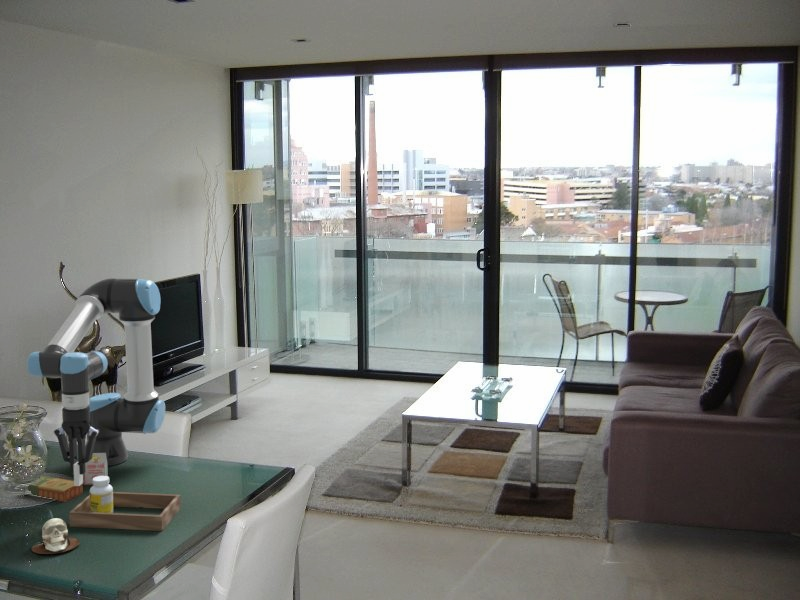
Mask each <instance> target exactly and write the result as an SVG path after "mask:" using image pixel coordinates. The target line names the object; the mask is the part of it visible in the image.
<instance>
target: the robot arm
mask: <svg viewBox="0 0 800 600" xmlns="http://www.w3.org/2000/svg"><path fill="white" fill-rule="evenodd" d="M161 299H162V298H161V293H160V289H159V287H158V285H157V284H156V283H155V282H154V281H153V280H152V279H151V280H150V279H142V278H111V277H110V278H105V279H102V280H99V281H97V282H96V283H95V282H94V284H91V285H90V286H89V287H88V288H86V289H85V290H84V291H83V292H82V293H80V295H79V296H78V297H77V299H76V301H75V303H74V304H75V305H74V308H73V310H71V313H70V314H69V315H68V317H66V319H65V321H64V322H63V324H62V325H61V326H60V328H59V329H58V331H57V332H56V333H55V335H54V336H53V337H52V338H51V340H50V341H49V343H48V344H47V345H46V346H45V348H44V350H42V351H40V350H39V351H34V352H31V353H30V354H29V356H28V357H27V362H26V367H27V370H28V374H29V375H31V376H33V377H39V378H54V379H55V378H58V379H59V378H60V383H61V384H60V385H61V406H62V408H61V416H62V419H61V420H62V423H61V426H60V427H58V428H56V429H55V430H53V433H54V435H55V436H56V438H57V440H58V443H59V444H58V445H59V448H60V451H61V455H62V459H63V461H64V462H68V463H69V464H70V473H71V475H73V481H74V486H80V485H81V484H83V485H84V473H85V472H86V467H85V463H87V462H89V461H90V460H91V459H92V455H93V453H106V457H107V466H108V467H111V466H115V465H119V464H121V463H124V462H125V461H127V460H128V458H129V457H128V453H129V452H128V449H127V447H126V445H125V442H124V439H123V433H130V434H131V433H132V434H143V435H145V434H155V433H157V432H158V431H159V430H160V429H161V428H162V424H163V423H164V420H165V414H166V404H165V401H164V400H163V399H160V398H159V392H157V391H156V390H155V388H154V387H155V386H154V369H153V368H154V367H153V348H152V345H153V344H152V329H151V328H152V327H151V323H152V322H153V321H154V320H155V319H156V315H157V314H158V313H159V312H160V311H161V310H160V309H161V302H162V301H161ZM109 313H110V314H118V319H119V321H120V322H121V323H122V324H123V327H124V342H125V343H124V345H125V346H124V347H125V358H126V359H125V362H126V383H127V385H126V386H127V391H126V393H125V394H124V395H123V398H122V395H121V393H118V392H107V393H102V394H97V395H94V396H92V397H90V381H91V380H93V379H96V378H98V377H101V375H102V374H103V373H105V371H106V370H107V368H108V365H109V364H108V359H107V357H106V356H105V354H104V353H102V352H101V351H97V350H96V351H89V352H87V353H84V352H80V351H79V352H75V350H76V349H77V347H78V346H79V344H80V343H81V342H82V340H83V339H84V337H85V336H86V334H87V333H88V332H89V331H90V329H91V327H92V326H93V325H94V323H95V321H96V320H99V319H102V317H103V315H104V314H109ZM66 435H67V436H66Z"/></svg>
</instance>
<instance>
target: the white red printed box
mask: <svg viewBox="0 0 800 600" xmlns="http://www.w3.org/2000/svg"><path fill="white" fill-rule="evenodd" d="M85 467H86V472H85V473H84V474H83V485H84V486H94V484H93V478H94V477H97V476H108V474H109V473H108V467H109V466H107V457H106V453H93V455H92V459H91V460H90V461H89V462H87V463H85ZM108 477H109V476H108Z"/></svg>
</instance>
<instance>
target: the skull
mask: <svg viewBox="0 0 800 600" xmlns="http://www.w3.org/2000/svg"><path fill="white" fill-rule="evenodd" d="M67 527H68V526H67V523H66V522H65V521H64V520H63V519H62V518H57V517H55V518H51V519H48V520H47V521H46V522H44V524H43V526H42V529H41V538H42V542H44V543H42V544H38V545H36V546H34V545H33V546H32V547H31V552H33V553H35V554H38V555H39V554H40V555H53V554H61V553H65V552H67V551H70V550H73V549H75V548H77V547H79V545H80V540H79V539H78V538H74V537H69V530H68V528H67ZM44 544H45V545H44Z"/></svg>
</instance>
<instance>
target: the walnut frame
mask: <svg viewBox="0 0 800 600" xmlns="http://www.w3.org/2000/svg"><path fill="white" fill-rule="evenodd" d="M113 507H119V508H120V507H121V508H122V507H123V508H139V507H143V508H145V509H161V510H162V509H163V510H162V512H161V513H160V514H142V513H141V514H138V513H121V512H120V513H119V512H113V513H99V512H90V494H88V496H86V497H85V498H84V499H83V500H82V501H81V502H79V503H78V504H77V505H76V506H75V507H74V508H73V509H71V510H70V511H69V512H68V520H69V522H68V523H69V527H70V528H71V527H72V528H90V529H91V528H92V529H93V528H94V529H110V530H111V529H116V530H117V529H118V530H135V531H136V530H139V531H158V532H161V531H163V530H164V529H165V528H166V527H167V526H168V524H169V523H170V522H171V521H172V519H174V517H175V516H176V515H177V514H178V513H179V511H180V510H181V509H182V495H181V494H172V493H171V494H170V493H169V494H168V493H150V492H149V493H147V492H146V493H145V492H127V491H125V492H123V491H113ZM143 508H142V509H143Z"/></svg>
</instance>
